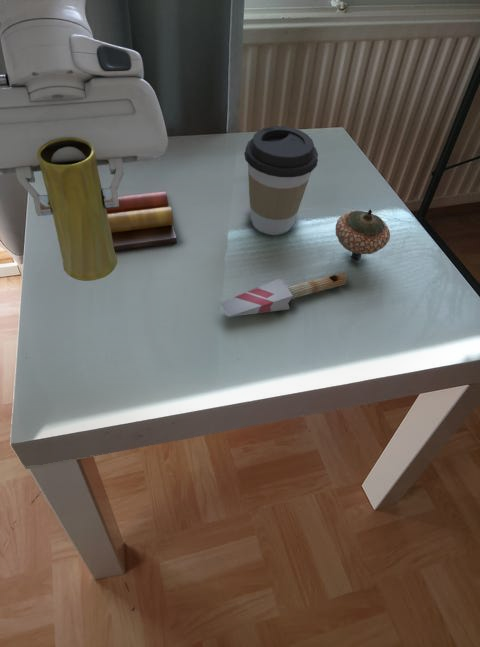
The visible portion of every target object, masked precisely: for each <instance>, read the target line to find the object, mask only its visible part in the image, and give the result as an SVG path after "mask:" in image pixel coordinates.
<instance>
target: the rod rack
mask: <svg viewBox="0 0 480 647" xmlns="http://www.w3.org/2000/svg"><path fill="white" fill-rule="evenodd" d="M167 194H168V193H167V192H166V190H160V191H151V192H142V193H133V194H132V193H131V194H124V195H118V201H119V207H112V208H106V211H107V216H108V221H109V225H110V230H111V234H112V240H113V247H114V251H116V252H117V251H123V250H131V249H137V248H139V249H140V248H144V247H145V248H146V247H153V246H160V245H161V246H162V245H167V244H176V243H178V242H177V240H178V239H177V235H176V233H175V229H174V214H173V210H172V207H171V206H169V201H168V195H167Z"/></svg>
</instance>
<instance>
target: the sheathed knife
mask: <svg viewBox="0 0 480 647" xmlns="http://www.w3.org/2000/svg"><path fill="white" fill-rule="evenodd" d="M347 279H348V278H347V276H346V274H345V273H344V272H340V273H337V274H332V275H327V276H323V277H321V278H316V279H313V280H309V281H305V282H301V283H298V284H293V285H289V286H287V285H286V283H285V282H284V281H283V280H282V278H278V279H275V280H273V281H270V282H268V283H265V284H262V285H260V286H258V287H255V288H253V289H251V290H248V291H245V292H243V293H241V294H238V295H235V296H233V297H231V298H228V299H226V300H224V301H221V302H219V304H220V306H221V307H222V310H223V311H224V312H225V314H226V316H227V317H228V318H229V317H235V316H236V317H237V316H244V315H252V314H253V315H255V314H261V313H271V312H278V311H287V310H291V309H290V304H289V302H290V301H291V300H292V299H296V298H299V297H303V296H307V295H311V294H314V293H318V292H321V291H325V290H330V289H333V288H337V287H340V286H344V285H346V284H347V281H348V280H347Z"/></svg>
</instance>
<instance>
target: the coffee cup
mask: <svg viewBox="0 0 480 647" xmlns="http://www.w3.org/2000/svg"><path fill="white" fill-rule="evenodd" d="M243 154H244V160H245V162H246V163H247V173H248V192H249V193H248V194H249V211H250V212H249V214H250V215H249V216H250V220H251V224H252V226H253V227H254V228H255V230H257V231H258V232H260V233H262V234H265V235H270V236H279V235H283V234H286V233H288V232H289V231H290V230H291V229H292V227H293V225H294V224H295V221H296V218H297V216H298V212H299V209H300V206H301V203H302V200H303V198H304V195H305V191H306V189H307V186H308V183H309V180H310V177H311V174H312V172H313V171H314V170H315V169H316V167H317V166H318V162H319V159H318V158H319V152H318V150H317V148H316V147H315V143H314V140H313V138H312V137H311V136H309V135H308V134H307V133H306V132H304V131H302V130H300V129H297V128H294V127H291V126H290V127H289V126H283V125H273V126H266V127H264V128H261V129H259V130H258V131H256V132H255V133H254V134H253V136H252V138H251V139H250V140H248V142H247V144H246V146H245V149H244V152H243Z"/></svg>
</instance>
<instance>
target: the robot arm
mask: <svg viewBox="0 0 480 647" xmlns="http://www.w3.org/2000/svg"><path fill="white" fill-rule="evenodd" d="M86 2H87V0H0V46H1V49H2V55H3V58H4V59H3V60H4V64H5V70H6V73H5V74H2V73H1V74H0V176H5V175H16V178H17V181H18V183H20V184H21V186H22V187H23V188H24V189H25V191H27V193H28V194H29V195H30V196H31V197H32V199H33V204H34V211H35V213H36V215H37V217H42V216H43V217H45V216H50V215H53V214H52V210H51V206H50V202H49V198H48V194H39V193H38V191H37V190H36V189H35V188H34V186H32V184H33V183H35V182H36V178H35V173H37V172H42V171H41V168H40V164H39V160H38V157H37V152H38V150H39V148H40V147H41V146H42V145H43V144H45V143H46V142H48V141H51V140H54V139H59V138H66V137H73V138H79V139H83V140H86V141H88V142H89V143H90V144H92V146H93V147H94V152H95V158H96V163H97V167H98V166H108V168H109V173H110V175H113V177H112V180H111V183H110V186H109V187H105V188H102V193H103V197H104V204H105V208H112V207H119V201H118V196H119V195H118V189H119V187H120V184H121V182H122V179H123V177H124V174H125V173H124V172H125V168H124V164H127V163H138V162H147V161H149V162H150V161H158V160H161V159H162V158H163V157H164V155H165V154H166V152H167V150H168V147H169V138H168V132H167V128H166V124H165V120H164V115H163V112H162V109H161V106H160V102H159V100H158V97H157V94H156V92H155V89H153V87H152V86H151V84H150V83H149V82H148V81H146V80H145V79H144V78H145V70H144V62H143V58H142V56H141V54H140V53H139V52H138V51H136V50H133V49H130V48H127V47H122V46H119V45H116V44H115V45H114V44H111V43H108V42H104V41H101V40H98V39H94V34H93V31H92V29H91V26H90V24H89V23H88V22H89V21H88V20H87V17H86ZM85 159H86V157H85V155H84V154H83V153H82V152H81V151H80V150H78V149H76V148H74V147H64V148H61V149H59V150H57V151H56V152H55V153H54V154H53V157H52V159H51V162H52V163H65V162H76V161H84V160H85ZM31 183H32V184H31Z"/></svg>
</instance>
